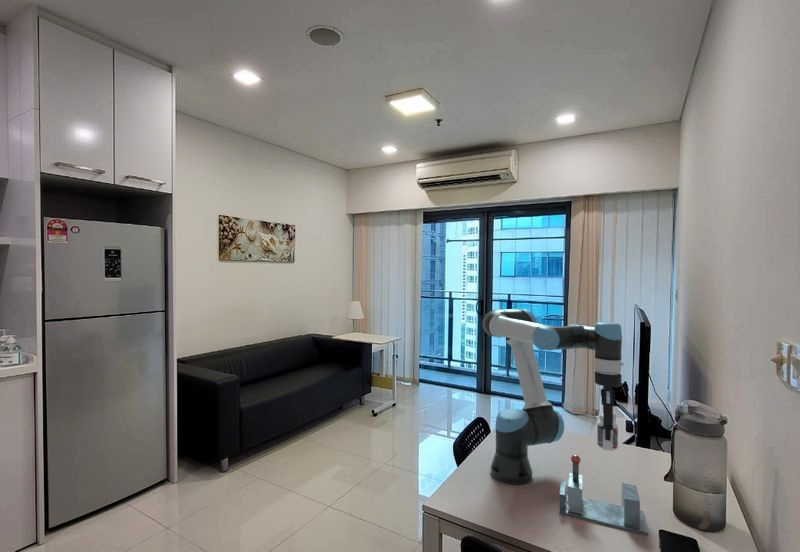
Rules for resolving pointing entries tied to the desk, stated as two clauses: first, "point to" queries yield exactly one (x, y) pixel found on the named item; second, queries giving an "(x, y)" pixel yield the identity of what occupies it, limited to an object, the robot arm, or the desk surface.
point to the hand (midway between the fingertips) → (607, 445)
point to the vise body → (609, 510)
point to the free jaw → (575, 487)
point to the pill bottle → (600, 432)
